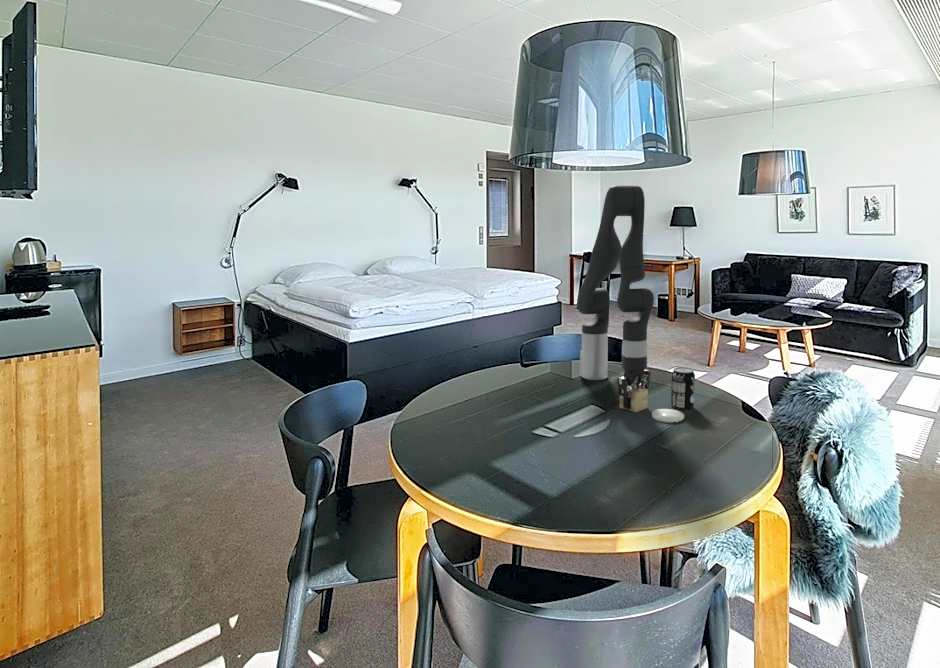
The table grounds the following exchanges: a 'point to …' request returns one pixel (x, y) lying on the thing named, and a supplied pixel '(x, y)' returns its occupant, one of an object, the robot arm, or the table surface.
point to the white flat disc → (667, 415)
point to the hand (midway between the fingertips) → (633, 405)
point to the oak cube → (637, 399)
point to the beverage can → (682, 388)
